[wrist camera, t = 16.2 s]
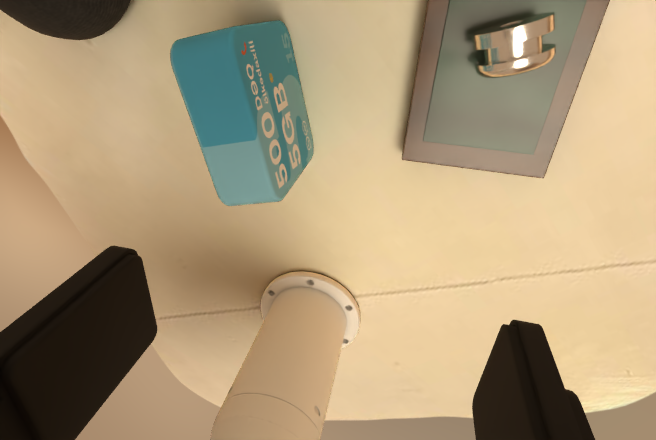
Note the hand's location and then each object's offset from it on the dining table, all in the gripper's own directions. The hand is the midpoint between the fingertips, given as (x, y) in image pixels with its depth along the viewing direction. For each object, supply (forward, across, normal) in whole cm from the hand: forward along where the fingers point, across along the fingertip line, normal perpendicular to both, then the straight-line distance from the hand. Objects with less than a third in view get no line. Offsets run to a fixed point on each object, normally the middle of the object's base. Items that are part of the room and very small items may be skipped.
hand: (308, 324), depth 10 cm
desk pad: (+28, -8, -5) cm, 30 cm away
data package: (+28, +10, +1) cm, 30 cm away
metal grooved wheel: (+26, -8, -5) cm, 28 cm away
